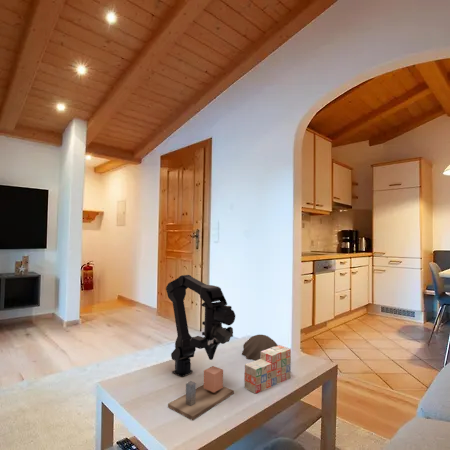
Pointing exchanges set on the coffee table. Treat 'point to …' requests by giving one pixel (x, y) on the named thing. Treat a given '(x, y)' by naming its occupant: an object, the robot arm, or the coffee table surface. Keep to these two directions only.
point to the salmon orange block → (213, 379)
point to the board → (200, 402)
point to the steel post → (190, 393)
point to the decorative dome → (257, 346)
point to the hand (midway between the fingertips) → (211, 359)
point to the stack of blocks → (268, 369)
